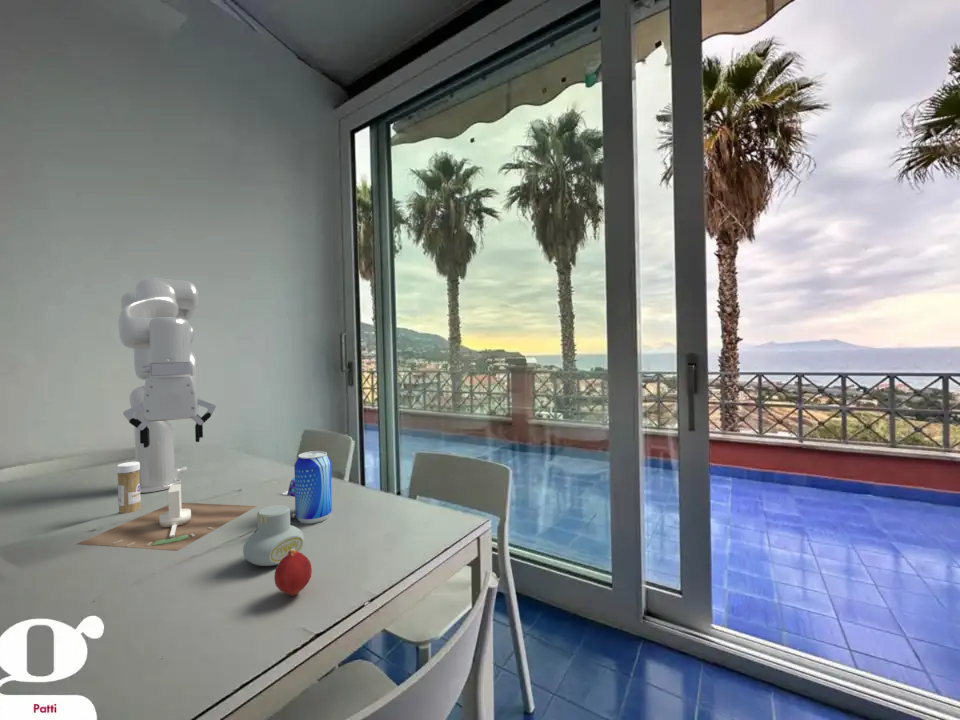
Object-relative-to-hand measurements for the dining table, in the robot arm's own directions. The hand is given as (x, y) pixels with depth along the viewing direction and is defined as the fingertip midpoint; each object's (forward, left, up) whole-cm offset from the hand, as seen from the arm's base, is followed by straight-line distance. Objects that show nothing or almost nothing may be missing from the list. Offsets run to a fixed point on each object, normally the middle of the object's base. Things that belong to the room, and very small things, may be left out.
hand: (172, 443), depth 97 cm
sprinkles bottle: (-6, -19, -20) cm, 28 cm away
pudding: (-25, +17, -21) cm, 37 cm away
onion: (+21, +43, -20) cm, 52 cm away
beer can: (-10, +29, -20) cm, 37 cm away
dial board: (0, 0, -20) cm, 20 cm away
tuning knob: (+2, +2, -18) cm, 19 cm away
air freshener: (+10, +32, -20) cm, 39 cm away
